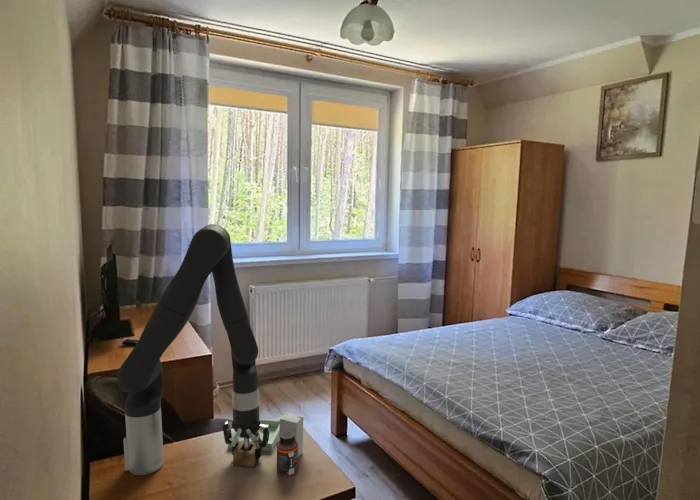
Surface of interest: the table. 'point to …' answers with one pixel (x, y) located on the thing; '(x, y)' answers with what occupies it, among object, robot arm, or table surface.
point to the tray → (273, 434)
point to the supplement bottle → (287, 454)
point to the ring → (244, 455)
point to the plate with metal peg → (247, 447)
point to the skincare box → (293, 428)
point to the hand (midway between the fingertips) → (247, 457)
